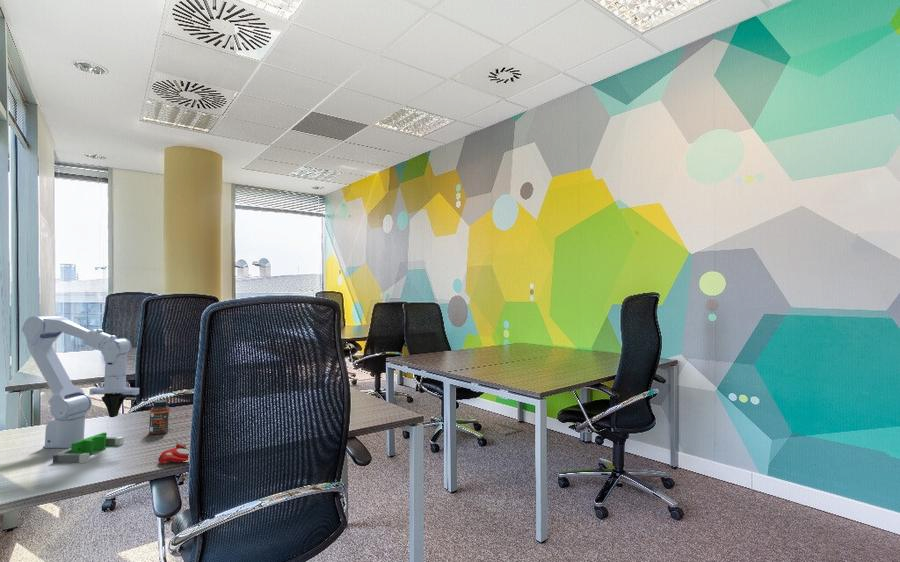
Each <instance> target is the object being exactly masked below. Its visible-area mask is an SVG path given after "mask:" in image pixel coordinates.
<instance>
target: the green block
mask: <svg viewBox="0 0 900 562" xmlns="http://www.w3.org/2000/svg"><path fill="white" fill-rule="evenodd" d="M106 437H107V432H104V431H103V432H100V433H98V434H95V435H93V436H92V435H91V436H90V437H86V438H84V439H83V440H80V441H77V442H74V443H72V447H71V453H90V456H92V455H94V452H96V451H97V452H98V451H104V450H106V447H107V445H106Z"/></svg>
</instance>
